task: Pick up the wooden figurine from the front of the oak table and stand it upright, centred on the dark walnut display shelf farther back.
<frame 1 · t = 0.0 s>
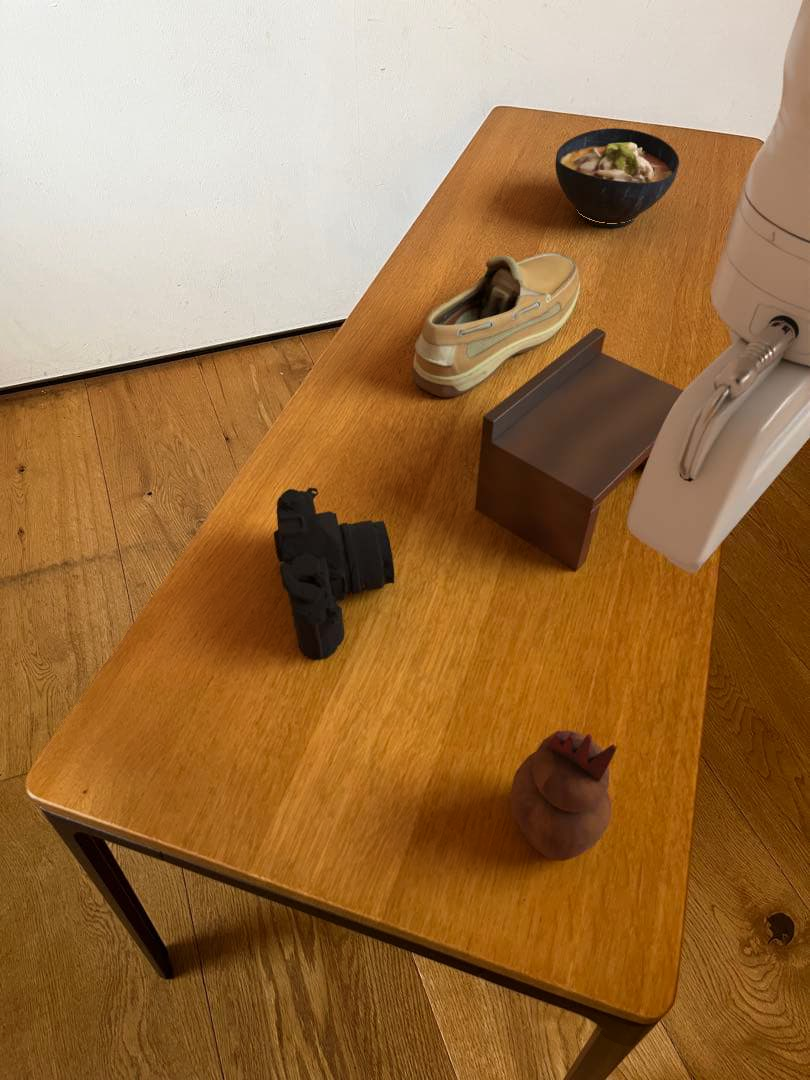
hand: (729, 508, 42), 26 cm above the table, tool pointing down, fingers open, 8 cm apart
film camera: (338, 590, 72), on the table
wooden figurine: (551, 827, 57), on the table
display shelf: (576, 489, 79), on the table
boat shoe: (503, 341, 97), on the table
bowl: (606, 216, 117), on the table
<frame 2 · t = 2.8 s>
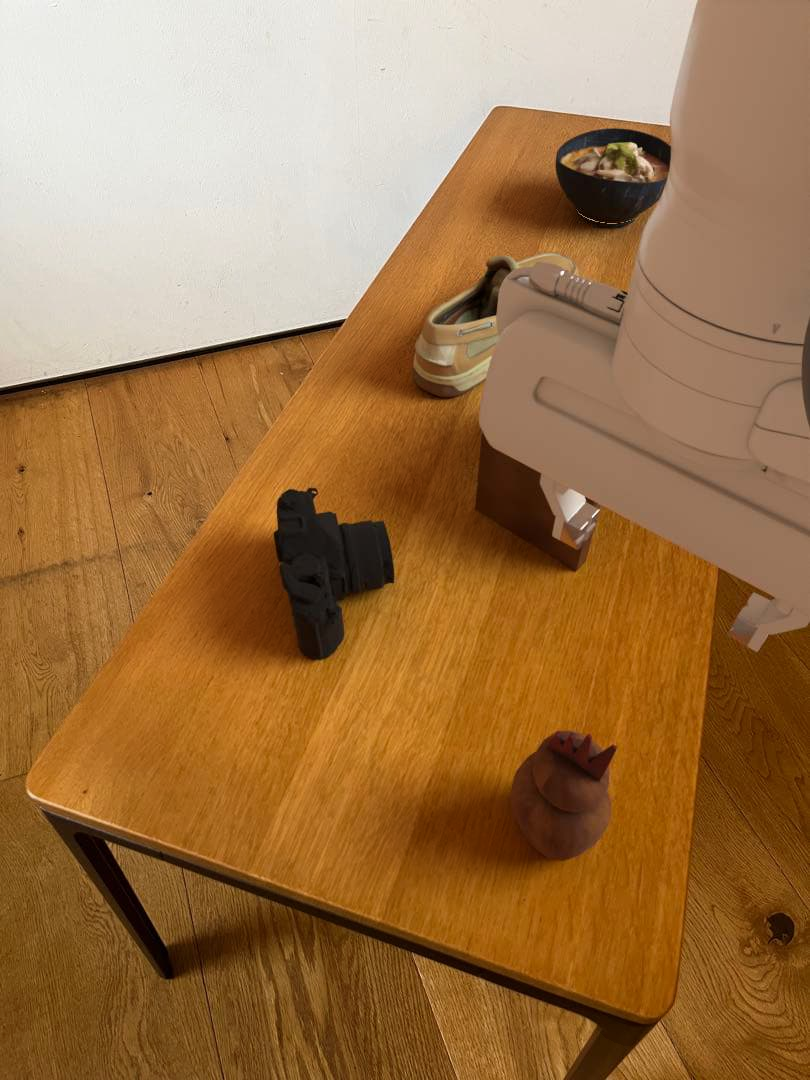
hand: (655, 583, 38), 27 cm above the table, tool pointing down, fingers open, 8 cm apart
nothing on the table moved.
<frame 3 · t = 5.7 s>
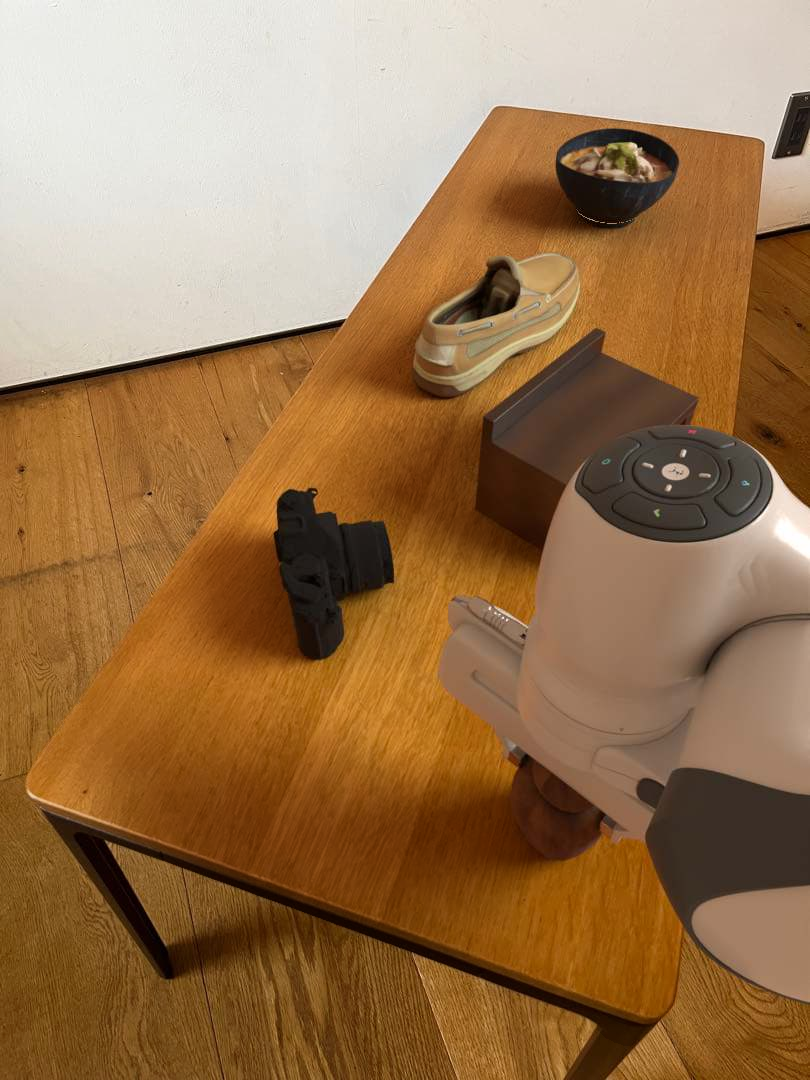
hand: (564, 791, 52), 6 cm above the table, tool pointing down, fingers closed on wooden figurine, 6 cm apart
wooden figurine: (551, 827, 57), on the table, touching gripper
everything else where it was.
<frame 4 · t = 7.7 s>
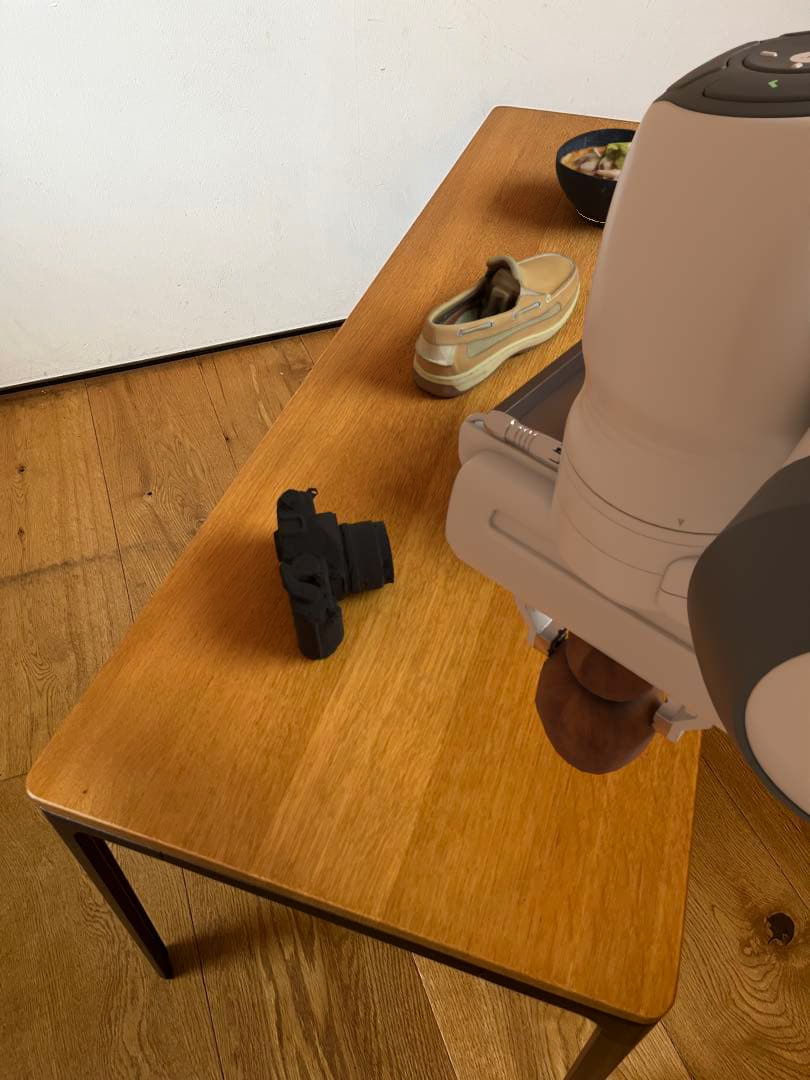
hand: (605, 683, 42), 20 cm above the table, tool pointing down, fingers closed on wooden figurine, 6 cm apart
wooden figurine: (585, 739, 46), point 14 cm above the table, touching gripper
everything else where it was.
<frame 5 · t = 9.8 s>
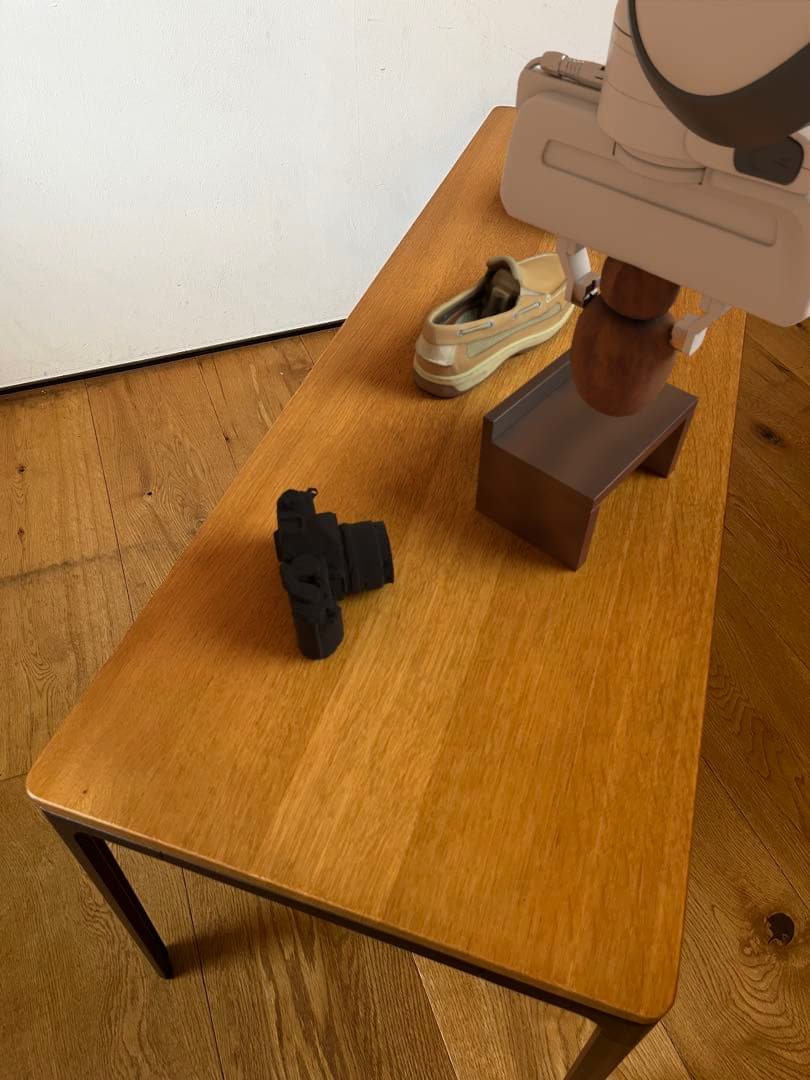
hand: (630, 324, 50), 28 cm above the table, tool pointing down, fingers closed on wooden figurine, 6 cm apart
wooden figurine: (610, 401, 55), point 21 cm above the table, touching gripper
everything else where it was.
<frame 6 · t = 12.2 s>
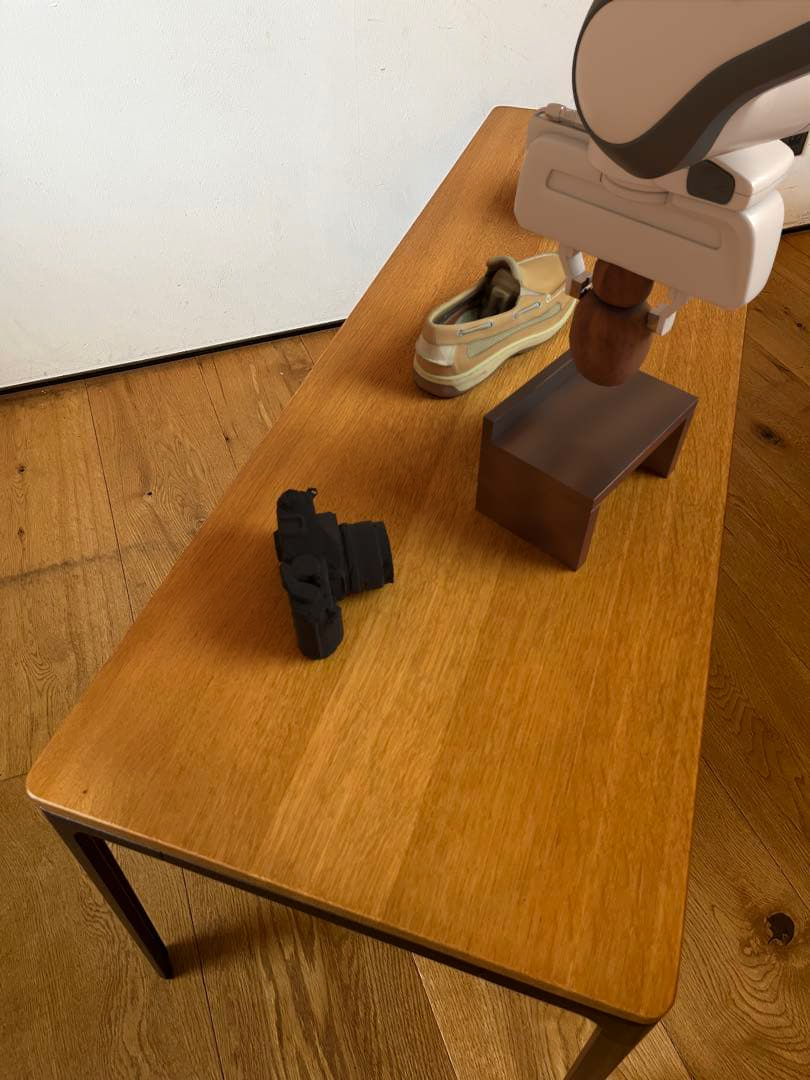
hand: (616, 312, 64), 21 cm above the table, tool pointing down, fingers closed on wooden figurine, 6 cm apart
wooden figurine: (601, 375, 69), point 14 cm above the table, touching gripper
everything else where it was.
when the fingers open (16 cm above the table, at t = 14.0 s): wooden figurine stays where it is, resting on display shelf.
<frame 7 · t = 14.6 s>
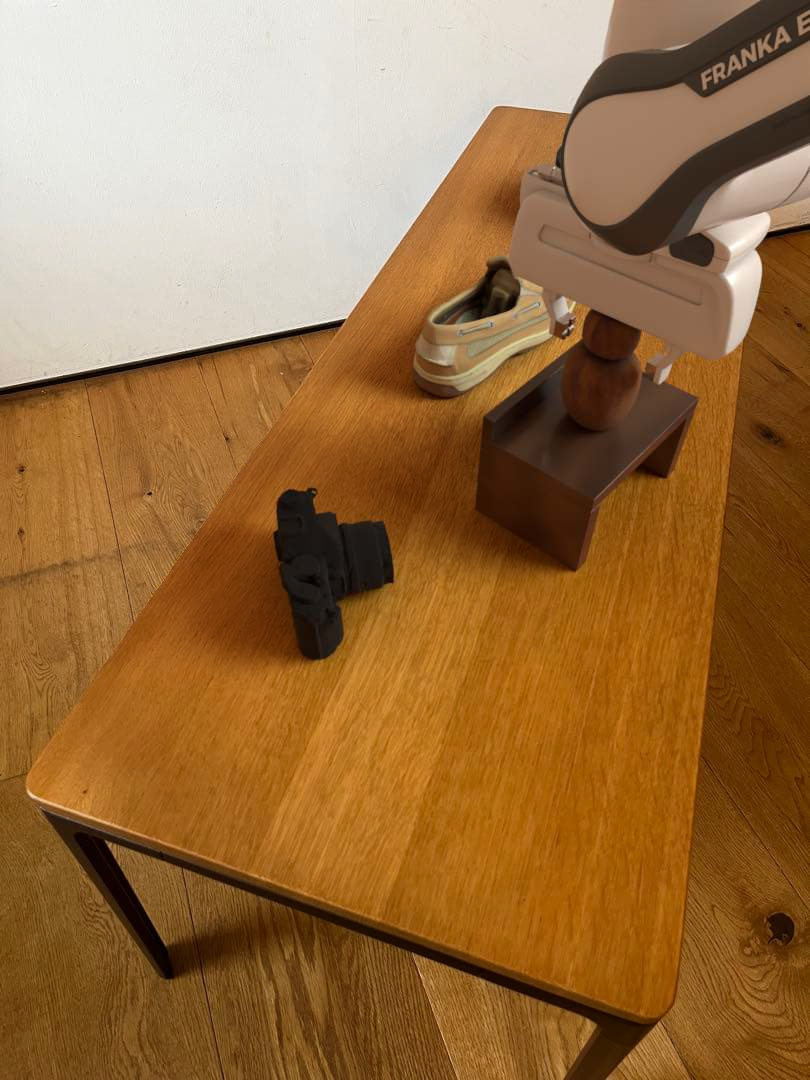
hand: (606, 355, 67), 16 cm above the table, tool pointing down, fingers open, 8 cm apart
wooden figurine: (592, 419, 72), point 9 cm above the table, touching display shelf
everything else where it was.
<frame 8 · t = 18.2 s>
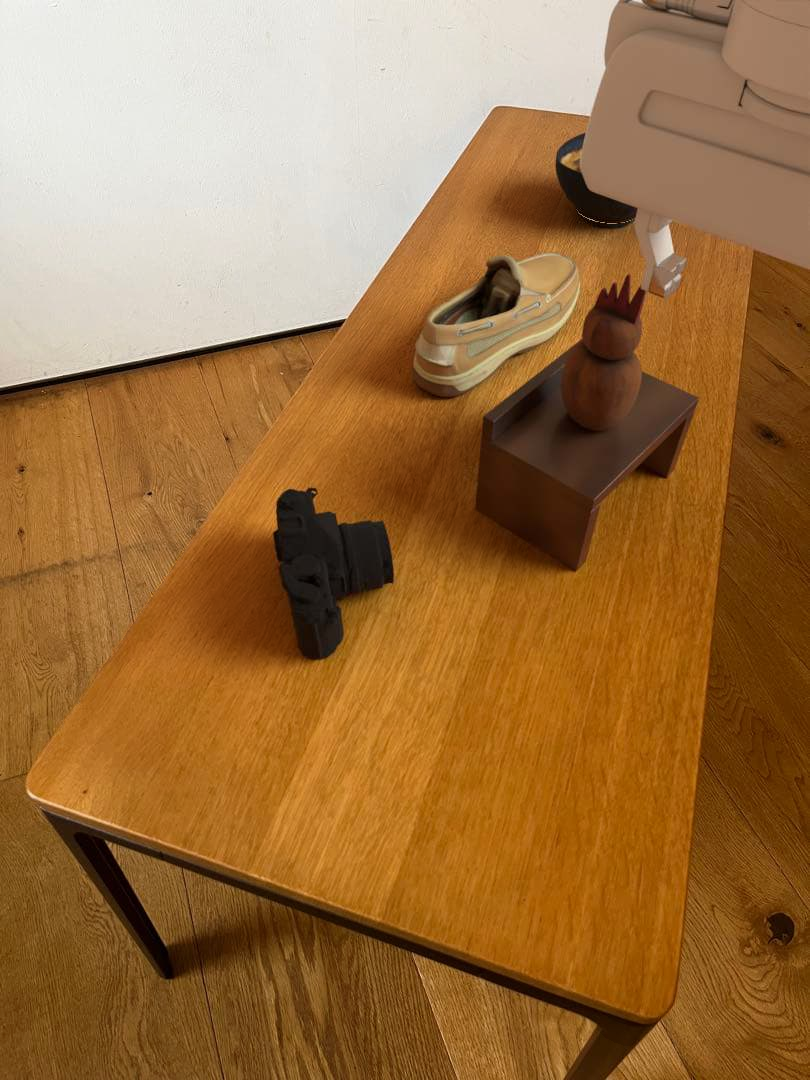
hand: (738, 322, 41), 33 cm above the table, tool pointing down, fingers open, 8 cm apart
nothing on the table moved.
at the end: wooden figurine inside the target area on the display shelf (0.1 cm from its centre), point 9.3 cm above the display shelf's base; wooden figurine tilted 0°; the gripper is holding nothing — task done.
